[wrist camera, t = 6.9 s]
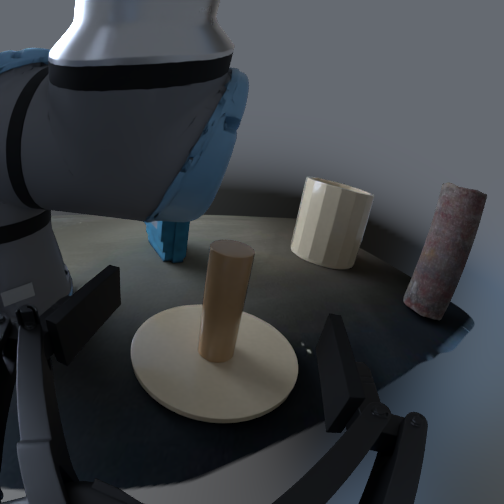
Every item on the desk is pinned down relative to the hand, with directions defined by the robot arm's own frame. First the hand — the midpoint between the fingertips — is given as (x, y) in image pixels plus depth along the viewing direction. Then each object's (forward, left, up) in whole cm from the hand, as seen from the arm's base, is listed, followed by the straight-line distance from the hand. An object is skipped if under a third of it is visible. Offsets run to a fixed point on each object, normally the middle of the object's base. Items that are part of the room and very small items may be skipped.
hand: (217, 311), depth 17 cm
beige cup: (+14, +36, -7) cm, 40 cm away
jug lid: (0, +4, -7) cm, 8 cm away
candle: (+28, +20, -8) cm, 35 cm away
